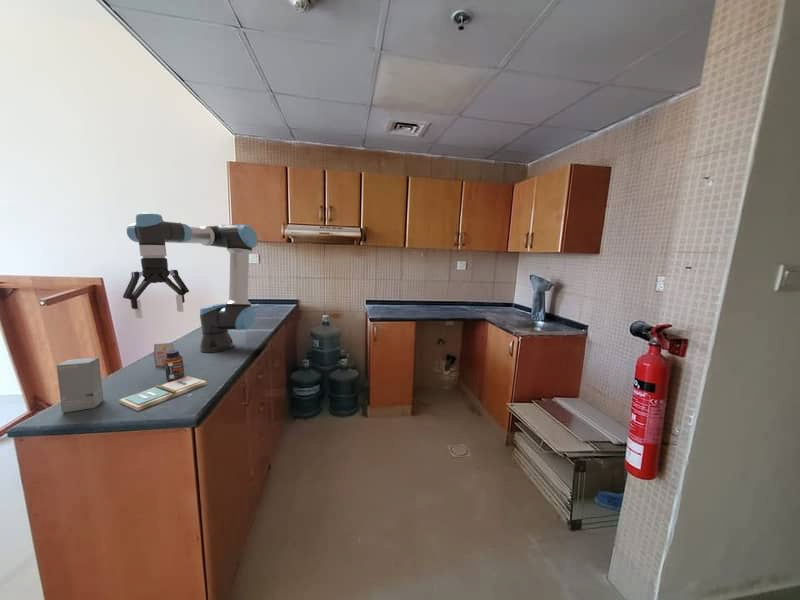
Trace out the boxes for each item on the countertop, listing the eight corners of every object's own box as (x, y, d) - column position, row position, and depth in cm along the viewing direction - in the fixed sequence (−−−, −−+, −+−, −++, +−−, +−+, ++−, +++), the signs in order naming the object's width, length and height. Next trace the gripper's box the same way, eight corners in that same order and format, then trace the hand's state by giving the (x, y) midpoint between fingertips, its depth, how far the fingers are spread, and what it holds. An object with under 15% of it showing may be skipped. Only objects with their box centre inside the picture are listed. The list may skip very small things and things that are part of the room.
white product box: (159, 363, 140) (156, 342, 138) (176, 362, 142) (173, 341, 140) (155, 366, 136) (152, 345, 135) (173, 365, 138) (170, 343, 137)
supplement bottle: (175, 382, 120) (171, 354, 118) (162, 380, 121) (158, 353, 119) (188, 375, 126) (185, 349, 124) (176, 374, 127) (172, 348, 125)
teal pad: (155, 388, 112) (155, 387, 111) (169, 393, 108) (169, 392, 107) (125, 399, 104) (124, 397, 104) (138, 405, 100) (138, 403, 100)
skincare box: (61, 413, 97) (52, 366, 94) (74, 403, 103) (65, 359, 101) (96, 408, 100) (88, 362, 98) (106, 398, 107) (99, 355, 104)
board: (188, 378, 123) (187, 374, 123) (206, 384, 118) (206, 379, 117) (119, 402, 104) (118, 398, 103) (137, 410, 98) (137, 405, 98)
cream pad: (187, 377, 121) (187, 376, 121) (201, 381, 117) (201, 380, 117) (161, 386, 113) (161, 385, 113) (175, 391, 109) (175, 389, 109)
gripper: (184, 257, 124) (189, 308, 127) (104, 257, 102) (113, 319, 105) (195, 256, 121) (201, 309, 124) (115, 257, 99) (124, 321, 102)
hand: (161, 314), depth 114 cm, fingers open, 13 cm apart
